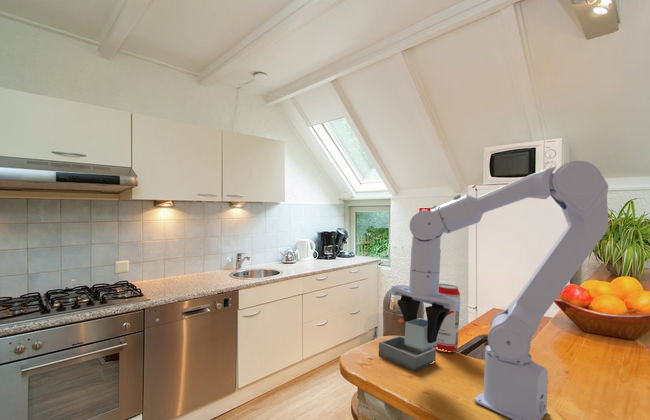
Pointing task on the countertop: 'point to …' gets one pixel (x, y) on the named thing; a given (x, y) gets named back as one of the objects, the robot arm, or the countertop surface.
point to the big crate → (406, 354)
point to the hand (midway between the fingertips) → (421, 338)
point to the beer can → (449, 322)
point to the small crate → (418, 335)
